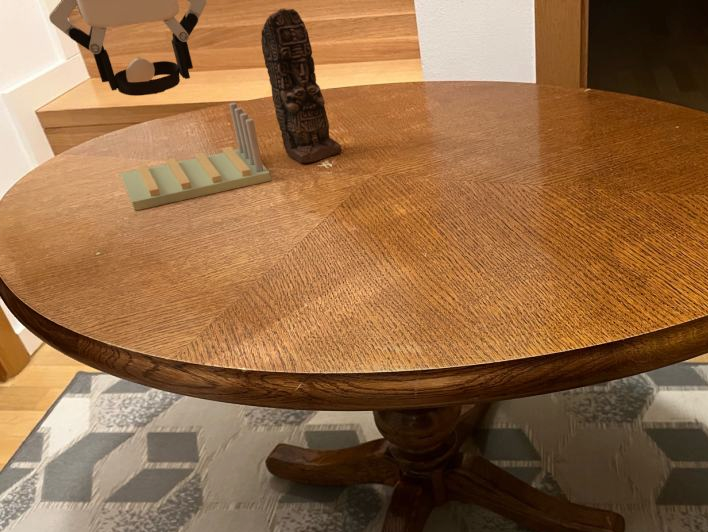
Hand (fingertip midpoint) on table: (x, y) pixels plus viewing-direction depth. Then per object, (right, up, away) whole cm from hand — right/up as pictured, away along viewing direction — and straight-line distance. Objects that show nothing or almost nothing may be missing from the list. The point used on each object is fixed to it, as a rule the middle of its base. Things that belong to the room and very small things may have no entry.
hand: (149, 80), depth 85 cm
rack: (-1, -8, +17) cm, 19 cm away
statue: (+14, -3, +24) cm, 28 cm away
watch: (0, -1, +1) cm, 1 cm away
